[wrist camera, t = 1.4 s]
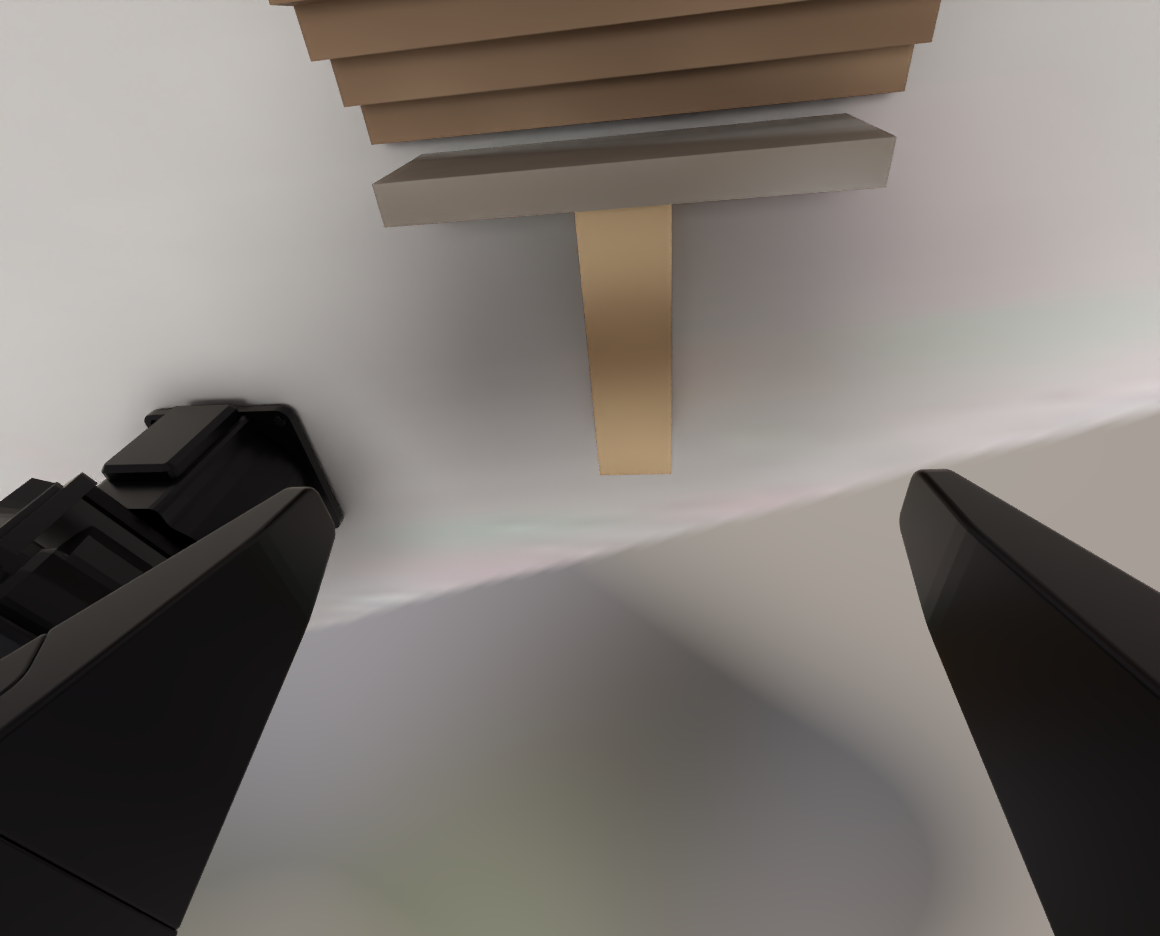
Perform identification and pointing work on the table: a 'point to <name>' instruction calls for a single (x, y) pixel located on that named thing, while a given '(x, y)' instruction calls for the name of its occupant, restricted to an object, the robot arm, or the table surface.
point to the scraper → (635, 233)
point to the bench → (600, 57)
